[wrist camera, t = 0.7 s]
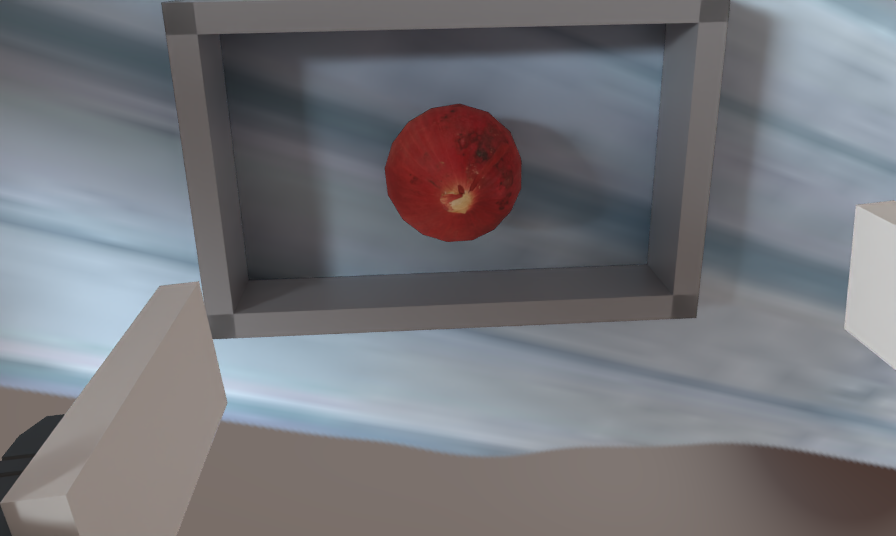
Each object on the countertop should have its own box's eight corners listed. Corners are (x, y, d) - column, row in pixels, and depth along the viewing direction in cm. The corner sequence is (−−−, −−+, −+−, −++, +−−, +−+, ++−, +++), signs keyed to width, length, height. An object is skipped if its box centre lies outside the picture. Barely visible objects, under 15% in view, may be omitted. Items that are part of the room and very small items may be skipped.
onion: (441, 65, 35) (453, 92, 28) (534, 145, 37) (569, 190, 30) (362, 163, 37) (354, 213, 29) (455, 235, 38) (469, 300, 31)
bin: (227, 303, 39) (209, 339, 35) (187, -2, 34) (161, 2, 30) (668, 285, 40) (696, 317, 36) (695, -13, 35) (731, -10, 31)
